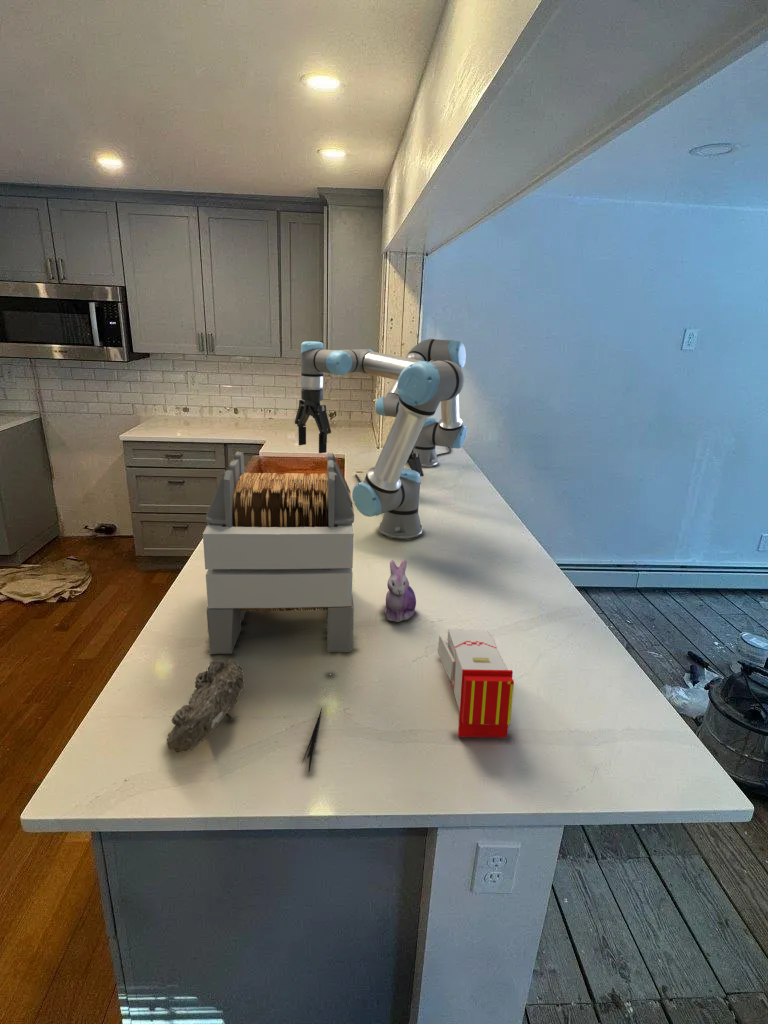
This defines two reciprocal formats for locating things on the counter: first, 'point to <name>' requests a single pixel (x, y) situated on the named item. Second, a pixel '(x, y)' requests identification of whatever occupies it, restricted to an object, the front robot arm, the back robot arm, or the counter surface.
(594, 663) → the counter surface
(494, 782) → the counter surface
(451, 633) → the toy
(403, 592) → the figurine
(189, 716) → the grey long lumpy piece
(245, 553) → the record crate
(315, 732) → the feather
